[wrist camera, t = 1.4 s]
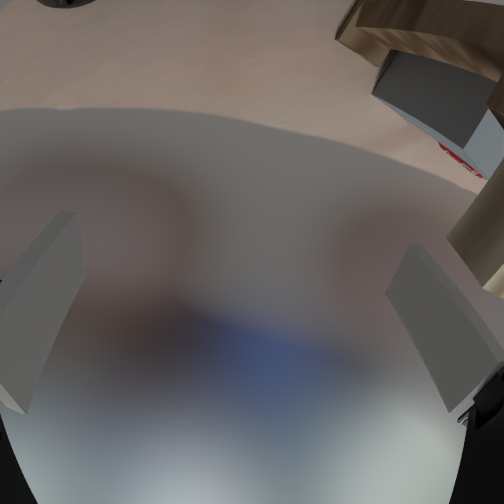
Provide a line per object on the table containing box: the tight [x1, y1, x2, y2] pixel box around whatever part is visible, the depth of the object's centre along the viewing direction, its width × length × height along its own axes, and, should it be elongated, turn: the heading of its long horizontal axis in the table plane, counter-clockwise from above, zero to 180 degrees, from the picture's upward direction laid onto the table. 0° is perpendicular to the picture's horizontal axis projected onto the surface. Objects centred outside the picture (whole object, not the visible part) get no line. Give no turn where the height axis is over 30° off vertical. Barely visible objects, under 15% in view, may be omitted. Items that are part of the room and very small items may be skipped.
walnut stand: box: [335, 0, 504, 130], centre depth 19 cm, size 7×11×30 cm, turn 154°
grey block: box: [372, 51, 504, 180], centre depth 27 cm, size 8×11×20 cm
